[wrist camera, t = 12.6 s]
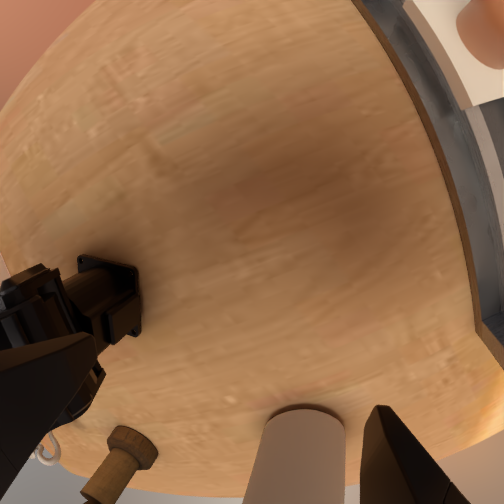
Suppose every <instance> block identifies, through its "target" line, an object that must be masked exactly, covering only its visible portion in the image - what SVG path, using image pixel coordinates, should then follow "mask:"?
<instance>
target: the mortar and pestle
mask: <svg viewBox="0 0 504 504" xmlns="http://www.w3.org/2000/svg"><path fill="white" fill-rule="evenodd" d="M107 444H108V447H109V450H110V453H109V454H108V456H107V457H106V459H105V460H104V461H103V463H102V464H101V465H100V467H99V468H98V469H97V471H96V472H95V473H94V475H93V476H92V477H91V478H90V480H89V481H88V482H87V484H86V485H85V486H84V488H83V489H82V490H81V491H80V493H81V494H82V496H83V497H85V498H86V499H87V500H88V501H87V502H85V503H84V504H115V503H116V501H117V500H118V498H119V496H120V495H121V493H122V492H123V490H124V489H125V487H126V486H127V484H128V483H129V481H130V480H131V478H132V477H133V475H134V474H135V472H136V471H137V470H148V469H150V468H151V466H152V465H153V463H154V462H155V460H156V458H157V456H158V453H157V450H156V449H155V447H154V446H153V444H152V443H151V442H150V441H149V440H148V439H146V438H145V437H144V436H142V435H141V434H140V433H138V432H136V431H134V430H132V429H130V428H127V427H123V426H118V427H116V428H115V429H114V430H113V432H112V433H111V435H110V436H109V437H108V439H107Z"/></svg>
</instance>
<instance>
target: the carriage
mask: <svg viewBox="0 0 504 504" xmlns="http://www.w3.org/2000/svg"><path fill="white" fill-rule="evenodd" d="M402 7H403V9H404V10H405V11H406V13H407V14H408V16H409V17H410V19H411V20H412V22H413V23H414V25H415V26H416V28H417V29H418V31H419V32H420V34H421V35H422V37H423V39H424V40H425V42H426V44H427V45H428V47H429V49H430V50H431V52H432V54H433V55H434V57H435V59H436V61H437V63H438V64H439V66H440V68H441V70H442V72H443V74H444V76H445V78H446V80H447V82H448V84H449V86H450V88H451V90H452V92H453V94H454V96H455V98H456V101H457V103H458V105H459V107H460V110H464V109H467V108H470V107H473V106H476V105H480V104H483V103H486V102H489V101H492V100H496V99H499V98H502V97H504V0H405V2H404V4H403V6H402Z"/></svg>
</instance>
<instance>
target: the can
mask: <svg viewBox="0 0 504 504" xmlns="http://www.w3.org/2000/svg"><path fill="white" fill-rule="evenodd" d="M344 495H345V430H344V427H343V425H342V424H341V423H340V422H339V420H337V419H336V418H334V417H332V416H331V415H329V414H326V413H323V412H320V411H317V410H311V409H299V410H292V411H288V412H285V413H282V414H279V415H276V416H275V417H274V418H272V419H271V420H269V421H268V423H267V424H266V426H265V428H264V430H263V434H262V438H261V441H260V445H259V449H258V452H257V456H256V459H255V463H254V466H253V470H252V473H251V476H250V480H249V483H248V486H247V490H246V493H245V496H244V499H243V503H242V504H344Z"/></svg>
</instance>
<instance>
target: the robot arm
mask: <svg viewBox="0 0 504 504" xmlns="http://www.w3.org/2000/svg"><path fill="white" fill-rule="evenodd" d="M82 260H83V261H82ZM77 263H78V274H76V275H74V276H72V277H70V278H68V279H66V280H64V281H62V280H61V278H60V275H61V274H60V272H59V269H58V268H55V269H53V270H50V268H49V269H48V268H46V267H45V266H44V265H43V264H42V263H40V264H38V265H36V266H33V267H31V268H29V269H27V270H24V271H22V272H20V273H18V274H16V275H14V276H12V277H10V278H8V279H6V280H4V281H2V283H1V286H0V501H1V499H2V497H3V496H4V494H5V493H6V491H7V490H8V488H9V487H10V485H11V484H12V482H13V481H14V479H15V478H16V476H17V475H18V473H19V471H20V470H21V469H22V467H23V466H24V464H25V463H26V461H27V460H28V459H29V457H30V456H31V454H32V453H33V451H34V450H35V449H36V447H37V446H38V444H39V443H40V442H41V440H42V439H43V438H44V436H45V435H46V434H47V433H48V432H50V431H51V430H53V429H55V428H57V427H59V426H61V425H64V424H67V423H70V422H72V421H74V420H75V419H77V418H79V417H80V416H81V415H83V414H84V413H85V412H86V411H87V410H88V408H89V407H90V405H91V403H92V401H93V399H94V397H95V395H96V393H97V391H98V389H99V387H100V385H101V384H102V382H103V380H104V378H105V376H106V373H105V371H104V369H103V368H101V366H100V364H99V362H98V360H97V356H98V355H99V354H100V353H101V352H103V351H104V350H105V349H106V348H107V347H108V346H109V345H110V344H111V345H115V344H116V343H117V342H118V341H120V340H121V339H122V338H123V337H124V336H125V335H126V334H127V335H130V336H133V337H138V336H139V335H140V333H141V328H140V321H141V316H140V297H139V294H138V272H137V269H136V268H135V267H133V266H129V265H125V264H121V263H116V262H112V261H108V260H104V259H100V258H96V257H92V256H88V255H84V254H82V255H80V256H78V258H77ZM130 271H131V272H132V274H133V275H132V274H131V273H130ZM134 330H135V331H134ZM360 504H471V503H470V502H469V501H468V500H467V499H466V498H465V497H464V495H463V494H462V493H461V492H460V491H459V490H458V488H457V487H456V486H455V485H454V484H453V482H450V479H449V478H448V476H447V475H446V474H445V473H444V471H443V470H442V469H441V468H440V467H439V465H438V464H437V463H436V462H435V461H434V459H433V458H432V457H431V456H430V454H429V453H428V452H427V451H426V450H425V448H424V447H423V446H422V445H421V444H420V442H419V441H418V440H417V439H416V437H415V436H414V435H413V434H412V433H411V431H410V430H409V429H408V428H407V427H406V425H405V424H404V423H403V422H402V421H401V419H400V418H399V417H398V416H397V415H396V413H395V412H394V411H393V410H392V408H391V407H390V406H387V405H376V406H375V407H374V408H373V410H372V412H371V414H370V416H369V418H368V420H367V422H366V424H365V427H364V437H363V448H362V458H361V468H360Z"/></svg>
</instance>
